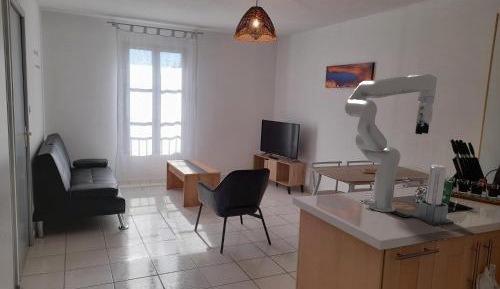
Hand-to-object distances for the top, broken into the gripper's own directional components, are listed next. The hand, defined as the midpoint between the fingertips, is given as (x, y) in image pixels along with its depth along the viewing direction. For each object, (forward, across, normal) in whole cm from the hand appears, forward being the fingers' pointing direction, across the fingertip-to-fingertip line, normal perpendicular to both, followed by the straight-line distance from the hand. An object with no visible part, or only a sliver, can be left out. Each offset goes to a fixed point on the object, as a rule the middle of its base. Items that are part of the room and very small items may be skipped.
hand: (421, 133), depth 185 cm
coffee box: (+38, +19, -9) cm, 44 cm away
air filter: (+38, -17, -14) cm, 43 cm away
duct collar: (+38, -17, -14) cm, 44 cm away
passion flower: (+39, +11, -3) cm, 40 cm away
